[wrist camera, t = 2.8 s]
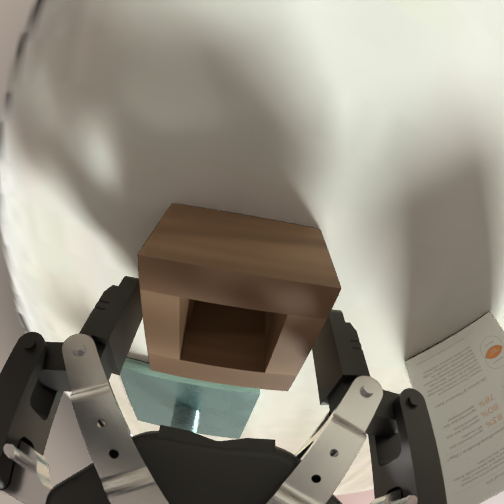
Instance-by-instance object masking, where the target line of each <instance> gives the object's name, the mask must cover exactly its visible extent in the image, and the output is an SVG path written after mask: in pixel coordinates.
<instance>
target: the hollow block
mask: <svg viewBox="0 0 504 504" xmlns="http://www.w3.org/2000/svg"><path fill="white" fill-rule="evenodd" d="M138 271H139V284H140V295H141V305H142V314H143V322H144V330H145V338H146V344H147V351H148V357H149V363H150V369H151V370H152V371H157V372H161V373H165V374H170V375H175V376H180V377H185V378H190V379H195V380H201V381H207V382H213V383H219V384H226V385H233V386H241V387H249V388H258V389H269V390H280V391H288V390H289V388H290V387H291V385H292V383H293V382H294V380H295V378H296V376H297V375H298V373H299V371H300V369H301V367H302V366H303V364H304V362H305V360H306V358H307V356H308V355H309V353H310V351H311V349H312V347H313V345H314V343H315V341H316V339H317V337H318V335H319V334H320V332H321V330H322V328H323V326H324V324H325V322H326V320H327V318H328V316H329V313H330V311H331V309H332V307H333V305H334V303H335V301H336V299H337V297H338V295H339V292H340V290H341V286H340V283H339V280H338V277H337V274H336V271H335V268H334V265H333V263H332V260H331V257H330V254H329V251H328V249H327V246H326V243H325V240H324V238H323V235H322V232H321V230H320V229H317V228H312V227H307V226H302V225H296V224H291V223H286V222H281V221H275V220H270V219H264V218H259V217H253V216H247V215H242V214H236V213H230V212H224V211H218V210H212V209H206V208H199V207H193V206H187V205H180V204H174V203H172V204H171V206H170V207H169V209H168V210H167V211H166V213H165V214H164V216H163V217H162V219H161V220H160V221H159V223H158V224H157V226H156V227H155V229H154V230H153V232H152V233H151V235H150V236H149V238H148V239H147V241H146V242H145V244H144V245H143V247H142V248H141V250H140V251H139V253H138Z"/></svg>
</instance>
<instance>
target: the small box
mask: <svg viewBox="0 0 504 504" xmlns="http://www.w3.org/2000/svg"><path fill="white" fill-rule="evenodd" d="M405 365H406V368H407V371H408V374H409V378H410V381H411V384H412V388H413V389H415V390H417V391H419V392H420V393H421V394H422V395H423V397H424V399H425V402H426V405H427V409H428V412H429V416H430V420H431V423H432V427H433V431H434V435H435V439H436V444H437V448H438V453H439V457H440V462H441V468H442V473H443V479H444V485H445V491H446V498H447V504H480V503H482V502H483V501H485V500H487V499H489V498H491V497H493V496H495V495H497V494H498V493H500V492H502V491H504V331H503V330H502V328H501V327H500V325H499V323H498V322H497V321H496V319H495V318H494V316H493V315H492V313H491V312H488V313H487V314H485V315H484V316H483V317H481V318H480V319H478V320H477V321H475V322H474V323H472V324H470V325H469V326H467V327H466V328H464V329H463V330H461V331H459V332H458V333H456V334H455V335H453V336H451V337H450V338H448V339H446V340H444V341H443V342H441V343H439V344H437V345H436V346H434V347H432V348H430V349H428V350H426V351H425V352H423V353H421V354H419V355H417V356H415V357H413V358H411V359H409V360H407V361H405Z"/></svg>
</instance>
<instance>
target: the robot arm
mask: <svg viewBox="0 0 504 504" xmlns="http://www.w3.org/2000/svg"><path fill="white" fill-rule="evenodd" d="M142 318H143V314H142V305H141V295H140V284H139V279H138V278H133V277H128V276H125V277H124V278H123V280H122V281H121V283H120V285H119V286H115V285H112V286H111V287H110V288H108V289H107V290H106V291H104V293H103V294H102V296H101V297H100V299H99V302H97V304H96V306H95V308H94V309H93V311H92V312H91V314H90V316H89V317H88V319H87V321H86V323H85V324H84V326H83V328H82V329H81V331H80V333H79V334H74V335H72V336H70V337H68V338H67V339H66V340H65V341H64V342H45V340H44V338H43V337H42V336H41V335H40V334H39V333H36V332H29V333H26V334H24V335H23V336H21V337H20V338H19V340H18V341H17V343H16V345H15V347H14V349H13V350H12V352H11V354H10V356H9V358H8V360H7V362H6V364H5V365H4V367H3V369H2V372H1V373H0V492H2V493H4V494H7V495H9V496H12V497H14V498H15V499H17V500H19V501H21V502H22V503H24V504H342V503H341V502H340V501H339V500H338V499H337V498H336V497H335V496H334V495H333V493H334V491H335V490H336V488H337V487H338V485H339V484H340V482H341V481H342V479H343V477H344V476H345V474H346V473H347V471H348V469H349V468H350V466H351V465H352V463H353V461H354V459H355V458H356V456H357V454H358V453H359V451H360V449H361V447H362V445H363V444H364V442H365V440H366V436H367V435H366V434H368V437H369V445H370V453H371V462H372V471H373V482H374V494H375V500H373V501H372V502H371V503H370V504H447V498H446V491H445V485H444V479H443V473H442V468H441V462H440V457H439V453H438V448H437V444H436V439H435V435H434V431H433V427H432V423H431V420H430V416H429V412H428V409H427V405H426V402H425V399H424V397H423V395H422V394H421V393H420V392H419V391H417V390H415V389H412V388H408V389H405V390H403V391H402V392H401V393H400V394H396V393H392V392H389V391H385V390H383V389H382V387H381V385H380V383H379V382H378V381H377V380H375V379H374V378H372V377H370V374H369V371H368V367H367V364H366V360H365V357H364V354H363V350H361V348H362V347H361V344H360V342H359V338H358V334H357V331H356V330H355V329H354V327H353V326H352V325H351V324H350V323H347V322H345V320H344V317H343V313H342V311H340V310H332V309H331V311H330V313H329V316H328V318H327V320H326V322H325V324H324V326H323V328H322V330H321V332H320V334H319V335H318V337H317V339H316V341H315V343H314V345H313V347H312V351H313V358H314V364H315V371H316V378H317V384H318V392H319V399H320V405H329V408H330V410H329V412H328V413H327V414H326V416H325V417H324V418H323V420H322V421H321V423H320V424H319V426H318V427H317V428H316V430H315V431H314V432H313V434H312V435H311V436H310V438H309V439H308V440H307V442H306V443H305V444H304V445H303V446H302V447H301V448H300V450H299V451H298V452H297V453H296V454H295V455H293V454H292V453H290V452H288V451H287V450H285V449H282V448H279V447H276V446H275V440H270V439H253V438H244V439H236V440H228V441H214V440H212V439H209V438H206V437H204V436H201V435H199V434H196V433H194V432H191V431H189V430H184V429H179V428H174V427H169V426H164V425H160V429H159V431H149V432H144V433H141V434H138V435H135V436H132V433H131V431H130V429H129V427H128V425H127V423H126V421H125V419H124V417H123V415H122V412H121V410H120V408H119V405H118V403H117V401H116V398H115V396H114V393H113V391H112V388H111V386H110V383H109V378H110V376H111V373H113V374H117V375H120V373H121V370H122V367H123V365H124V362H125V359H126V357H127V354H128V352H129V349H130V347H131V344H132V342H133V339H134V337H135V335H136V332H137V330H138V327H139V325H140V323H141V320H142ZM63 391H71V392H72V394H71V395H70V397H71V402H72V406H73V409H74V412H75V415H76V418H77V421H78V424H79V427H80V430H81V433H82V436H83V438H84V441H85V444H86V446H87V449H88V451H89V454H90V456H91V459H92V461H93V463H92V464H90V465H89V466H87V467H85V468H84V469H82V470H80V471H79V472H77V473H76V474H74V475H72V476H71V477H69V478H67V479H66V480H64V481H62V482H60V483H59V484H57V485H56V486H54V487H53V486H52V485H51V482H50V478H49V473H50V470H49V464H48V462H47V460H46V459H45V457H44V456H43V454H44V450H45V446H46V442H47V439H48V436H49V433H50V429H51V426H52V423H53V420H54V417H55V414H56V411H57V408H58V405H59V402H60V399H61V397H62V394H63Z"/></svg>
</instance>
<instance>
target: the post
mask: <svg viewBox="0 0 504 504" xmlns="http://www.w3.org/2000/svg"><path fill="white" fill-rule="evenodd" d="M120 375H121V377H122V380H123V383H124V386H125V389H126V392H127V394H128V397H129V400H130V402H131V405H132V407H133V410H134V412H135V415H136V417H137V419H138V420H140V421H143V422H147V423H151V424H155V425H159V426H160V425H164V426H169V427H174V428H179V429H184V430H189V431H191V432H194V433H196V434H197V433H199V434H206V435H212V436H220V437H228V438H237V439H239V438H240V436H241V434H242V432H243V429H244V427H245V425H246V423H247V421H248V419H249V417H250V415H251V412H252V410H253V408H254V406H255V404H256V401H257V399H258V397H259V395H260V389H258V388H249V387H241V386H233V385H226V384H219V383H213V382H207V381H201V380H195V379H190V378H185V377H180V376H175V375H170V374H165V373H161V372H157V371H152V370H151V369H150V363H146V362H142V361H138V360H134V359H130V358H127V357H126V359H125V362H124V365H123V367H122V370H121V373H120Z"/></svg>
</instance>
